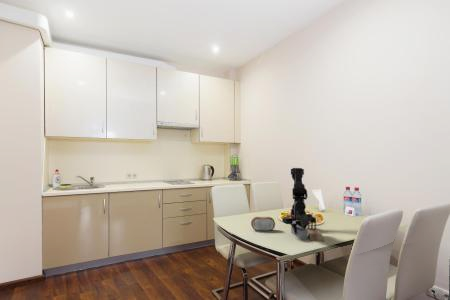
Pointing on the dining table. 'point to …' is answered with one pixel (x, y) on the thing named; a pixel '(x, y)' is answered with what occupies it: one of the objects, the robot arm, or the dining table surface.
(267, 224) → the tin
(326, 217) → the dining table surface
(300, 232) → the plug
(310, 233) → the header board
